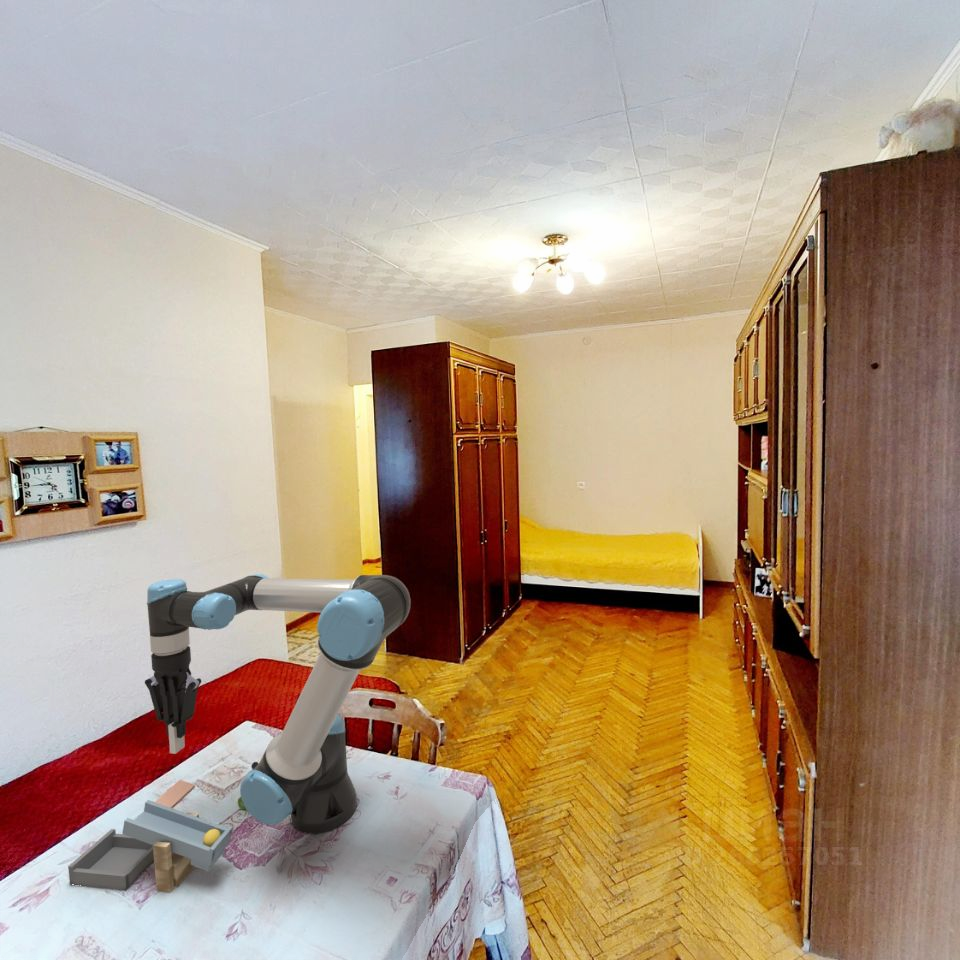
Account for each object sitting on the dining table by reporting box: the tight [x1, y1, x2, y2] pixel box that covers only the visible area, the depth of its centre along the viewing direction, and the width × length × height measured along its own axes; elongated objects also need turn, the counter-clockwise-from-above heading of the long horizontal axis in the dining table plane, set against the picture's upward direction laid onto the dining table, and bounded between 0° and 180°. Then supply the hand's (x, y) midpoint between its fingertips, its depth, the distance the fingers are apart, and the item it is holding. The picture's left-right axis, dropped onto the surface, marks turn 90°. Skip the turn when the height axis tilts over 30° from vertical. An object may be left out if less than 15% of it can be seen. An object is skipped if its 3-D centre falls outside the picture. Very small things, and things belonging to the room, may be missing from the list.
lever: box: [121, 779, 234, 872], centre depth 107 cm, size 20×16×5 cm
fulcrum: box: [153, 812, 200, 893], centre depth 103 cm, size 4×9×10 cm, turn 171°
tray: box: [67, 828, 154, 892], centre depth 105 cm, size 13×10×4 cm
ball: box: [203, 829, 221, 847], centre depth 102 cm, size 3×3×3 cm
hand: (177, 749), depth 114 cm, fingers closed
